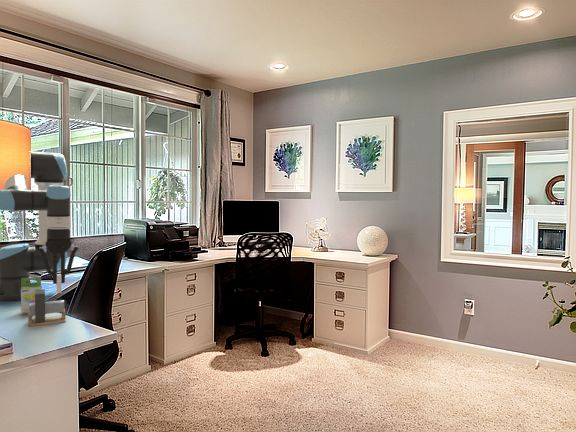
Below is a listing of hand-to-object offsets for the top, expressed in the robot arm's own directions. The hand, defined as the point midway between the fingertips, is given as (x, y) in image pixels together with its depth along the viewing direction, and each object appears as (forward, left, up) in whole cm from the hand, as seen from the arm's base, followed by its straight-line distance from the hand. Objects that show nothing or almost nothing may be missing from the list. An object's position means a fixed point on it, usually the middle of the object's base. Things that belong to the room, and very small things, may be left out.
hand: (59, 292), depth 159 cm
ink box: (-16, -9, -10) cm, 21 cm away
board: (0, -4, -10) cm, 11 cm away
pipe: (0, -4, -7) cm, 8 cm away
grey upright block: (0, -6, -10) cm, 12 cm away
